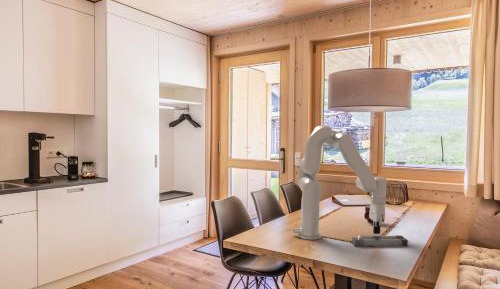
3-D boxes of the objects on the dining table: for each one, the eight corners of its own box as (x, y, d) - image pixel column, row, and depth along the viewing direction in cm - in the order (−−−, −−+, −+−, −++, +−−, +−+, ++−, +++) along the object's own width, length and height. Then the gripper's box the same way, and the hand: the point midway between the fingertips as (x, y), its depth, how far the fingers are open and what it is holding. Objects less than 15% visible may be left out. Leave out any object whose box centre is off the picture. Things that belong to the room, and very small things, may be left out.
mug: (371, 226, 208) (372, 209, 207) (359, 223, 214) (360, 207, 213) (380, 223, 215) (381, 207, 214) (369, 220, 221) (369, 204, 220)
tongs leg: (362, 243, 176) (362, 237, 176) (360, 241, 179) (360, 235, 179) (403, 243, 177) (403, 237, 177) (400, 241, 180) (401, 235, 180)
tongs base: (354, 246, 171) (355, 238, 171) (351, 243, 176) (351, 235, 176) (408, 246, 172) (408, 238, 172) (403, 243, 177) (403, 235, 177)
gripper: (366, 197, 194) (364, 229, 195) (377, 202, 179) (375, 237, 180) (379, 197, 194) (377, 229, 195) (391, 203, 180) (389, 238, 181)
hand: (376, 233), depth 188 cm, fingers closed
